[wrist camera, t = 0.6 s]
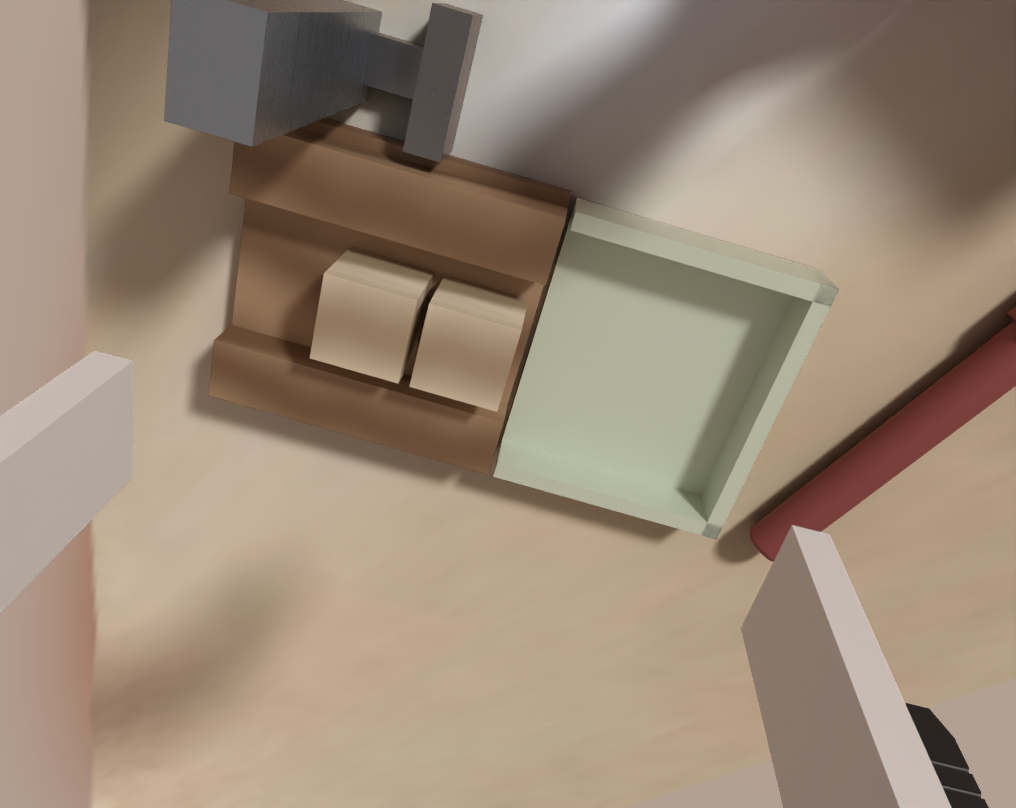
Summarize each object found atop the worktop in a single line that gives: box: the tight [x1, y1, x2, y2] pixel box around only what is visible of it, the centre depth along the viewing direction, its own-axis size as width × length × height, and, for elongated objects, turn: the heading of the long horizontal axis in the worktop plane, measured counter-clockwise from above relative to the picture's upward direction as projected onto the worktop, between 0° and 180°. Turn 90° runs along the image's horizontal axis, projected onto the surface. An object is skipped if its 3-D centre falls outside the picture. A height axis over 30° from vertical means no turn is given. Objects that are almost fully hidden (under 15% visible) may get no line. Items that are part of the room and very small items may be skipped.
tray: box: [493, 198, 839, 539], centre depth 37 cm, size 14×12×3 cm
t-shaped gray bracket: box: [164, 0, 483, 162], centre depth 28 cm, size 6×7×13 cm
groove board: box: [209, 118, 572, 474], centre depth 37 cm, size 14×14×3 cm
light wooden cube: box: [409, 275, 528, 412], centre depth 35 cm, size 4×4×4 cm
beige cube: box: [310, 247, 434, 383], centre depth 35 cm, size 4×4×4 cm
